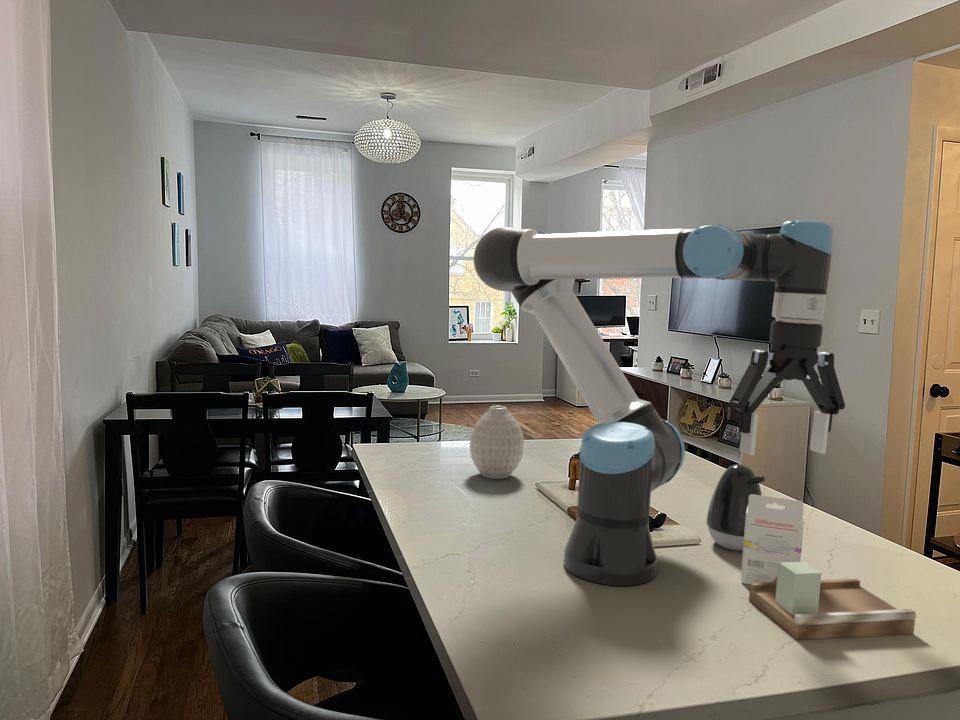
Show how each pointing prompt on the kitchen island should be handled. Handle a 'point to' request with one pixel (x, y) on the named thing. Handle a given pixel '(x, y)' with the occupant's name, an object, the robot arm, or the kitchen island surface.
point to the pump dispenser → (732, 506)
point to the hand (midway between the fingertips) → (782, 452)
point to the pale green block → (798, 588)
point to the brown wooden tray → (836, 612)
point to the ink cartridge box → (770, 537)
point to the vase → (496, 443)
